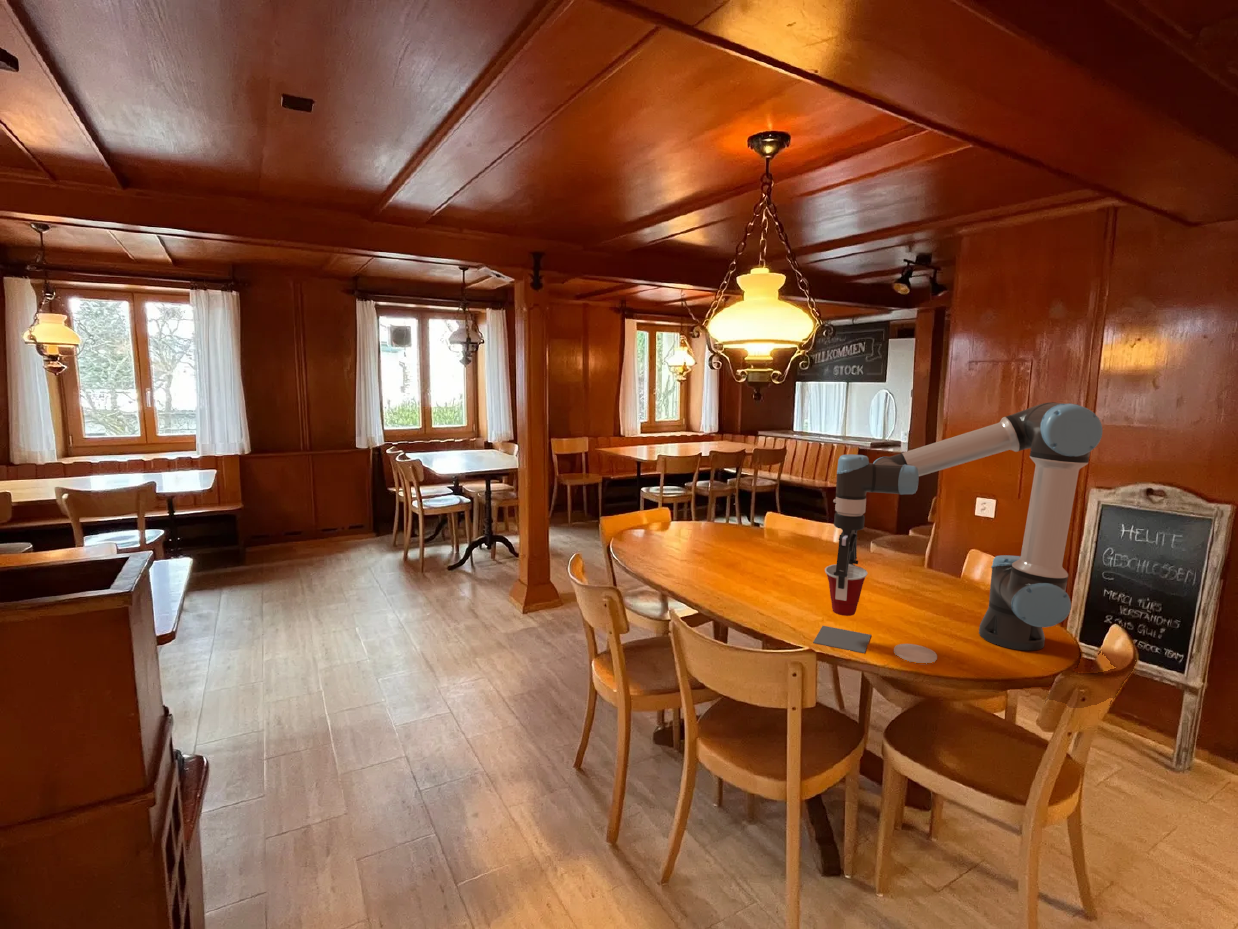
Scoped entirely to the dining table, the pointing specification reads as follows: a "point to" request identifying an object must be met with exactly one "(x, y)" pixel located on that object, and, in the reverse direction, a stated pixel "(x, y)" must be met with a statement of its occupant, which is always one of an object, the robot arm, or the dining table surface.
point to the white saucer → (915, 653)
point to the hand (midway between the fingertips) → (844, 593)
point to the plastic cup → (853, 589)
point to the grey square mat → (842, 639)
